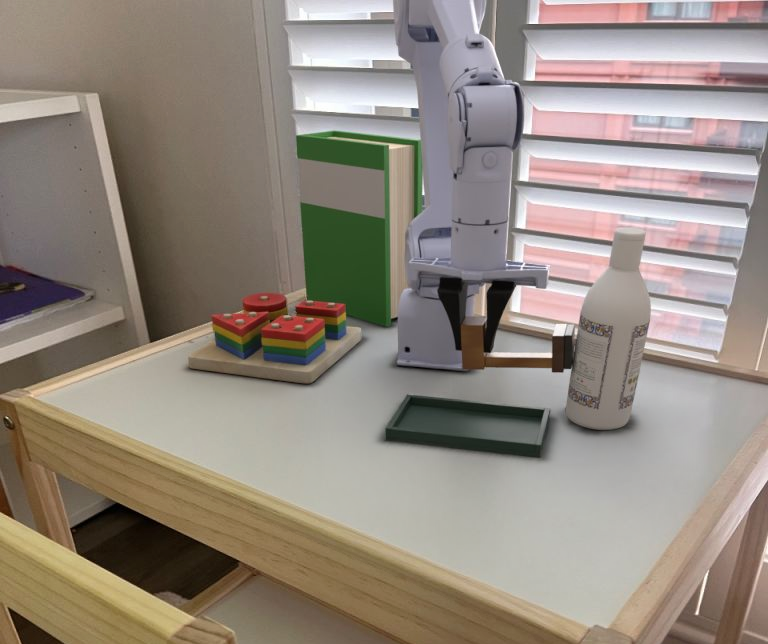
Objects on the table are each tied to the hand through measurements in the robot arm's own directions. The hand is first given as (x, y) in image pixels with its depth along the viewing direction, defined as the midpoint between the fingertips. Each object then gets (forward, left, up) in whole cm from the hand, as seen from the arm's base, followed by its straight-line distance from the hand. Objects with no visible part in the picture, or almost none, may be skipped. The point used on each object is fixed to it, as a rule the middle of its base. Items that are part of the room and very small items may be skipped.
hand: (474, 348), depth 88 cm
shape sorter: (-28, +11, -7) cm, 31 cm away
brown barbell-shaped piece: (+5, 0, -1) cm, 5 cm away
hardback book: (-23, +32, -7) cm, 40 cm away
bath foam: (+14, 0, -7) cm, 16 cm away
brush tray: (+1, -6, -7) cm, 9 cm away
